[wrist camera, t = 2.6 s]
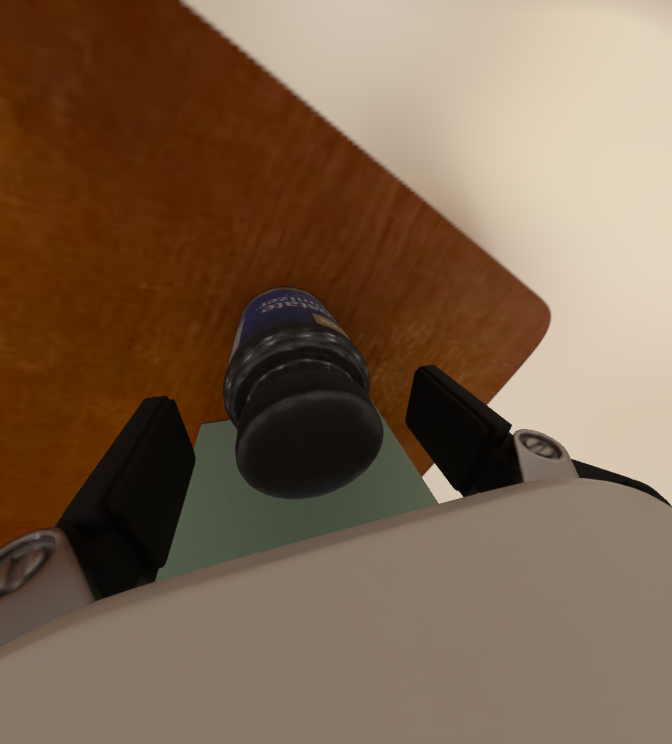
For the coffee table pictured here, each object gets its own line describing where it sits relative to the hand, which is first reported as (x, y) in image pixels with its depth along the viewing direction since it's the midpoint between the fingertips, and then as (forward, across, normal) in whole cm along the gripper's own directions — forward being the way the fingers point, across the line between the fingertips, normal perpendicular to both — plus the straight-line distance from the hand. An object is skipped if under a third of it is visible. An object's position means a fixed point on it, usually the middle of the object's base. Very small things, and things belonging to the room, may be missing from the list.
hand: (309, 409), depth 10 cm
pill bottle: (+9, 0, 0) cm, 9 cm away
